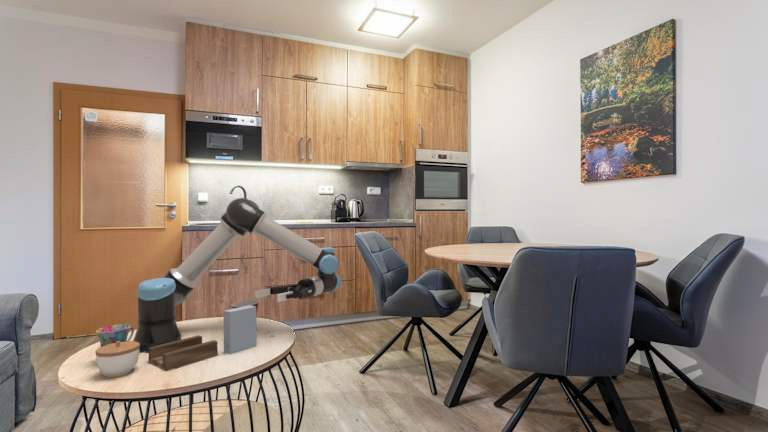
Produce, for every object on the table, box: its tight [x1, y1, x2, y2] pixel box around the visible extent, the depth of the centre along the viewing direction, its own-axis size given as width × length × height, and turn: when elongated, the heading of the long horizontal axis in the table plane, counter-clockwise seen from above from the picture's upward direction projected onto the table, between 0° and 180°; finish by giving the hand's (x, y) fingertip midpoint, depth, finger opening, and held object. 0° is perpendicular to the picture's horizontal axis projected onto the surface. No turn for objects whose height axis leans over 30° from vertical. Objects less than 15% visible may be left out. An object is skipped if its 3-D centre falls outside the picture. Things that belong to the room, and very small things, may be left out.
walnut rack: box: [147, 334, 219, 372], centre depth 123 cm, size 13×16×4 cm
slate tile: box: [223, 305, 257, 355], centre depth 132 cm, size 4×10×14 cm, turn 143°
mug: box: [95, 323, 135, 347], centre depth 123 cm, size 12×9×11 cm
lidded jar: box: [95, 340, 140, 378], centre depth 112 cm, size 11×11×9 cm
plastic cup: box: [230, 299, 260, 316], centre depth 152 cm, size 11×11×12 cm
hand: (266, 296), depth 140 cm, fingers open, 13 cm apart
